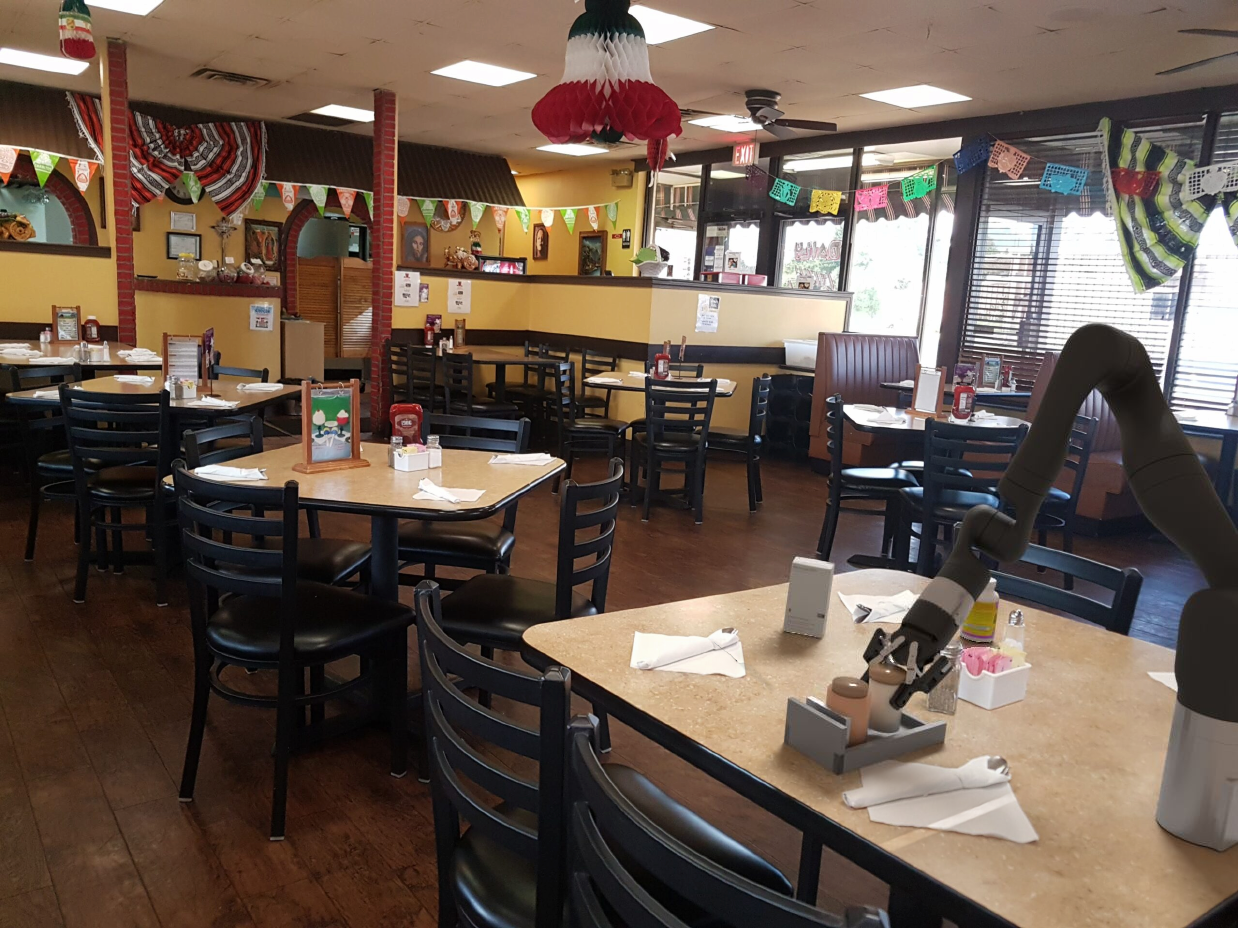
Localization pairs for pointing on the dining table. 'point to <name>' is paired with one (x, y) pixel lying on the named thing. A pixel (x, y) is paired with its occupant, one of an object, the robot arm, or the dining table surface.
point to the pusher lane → (828, 742)
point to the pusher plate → (831, 714)
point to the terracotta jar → (852, 705)
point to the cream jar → (884, 696)
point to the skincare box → (808, 596)
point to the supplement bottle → (982, 616)
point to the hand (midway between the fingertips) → (877, 698)
